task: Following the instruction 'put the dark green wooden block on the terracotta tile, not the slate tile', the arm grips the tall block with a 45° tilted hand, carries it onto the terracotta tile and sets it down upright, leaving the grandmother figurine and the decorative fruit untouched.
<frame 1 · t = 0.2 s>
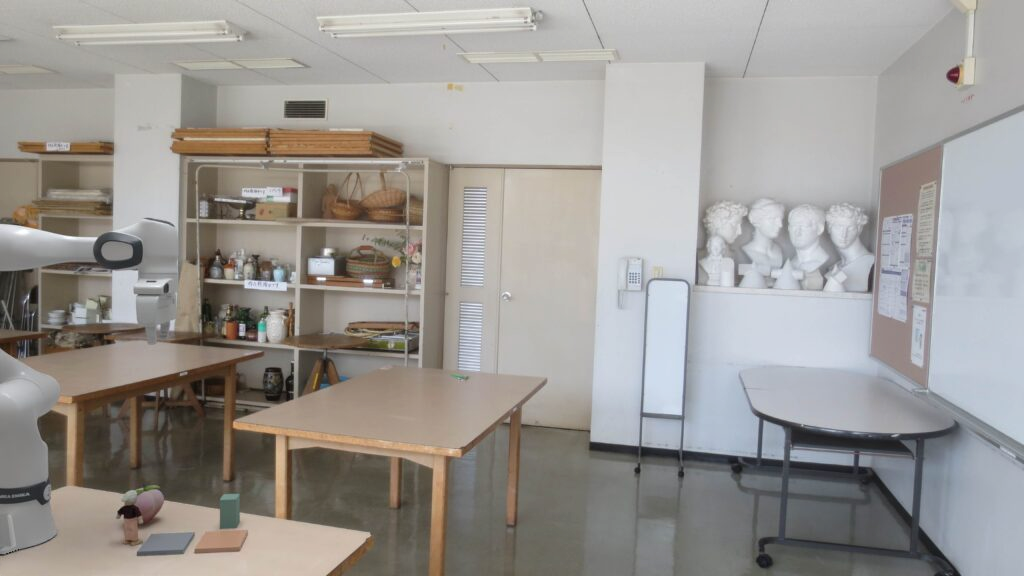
hand: (158, 341, 174), 48 cm above the table, tool pointing down, fingers open, 8 cm apart
decorative fruit: (143, 523, 183), on the table
grandmother figurine: (130, 542, 171), on the table
terracotta tile: (222, 543, 172), on the table
slate tile: (166, 545, 170), on the table
green wooden block: (229, 525, 183), on the table
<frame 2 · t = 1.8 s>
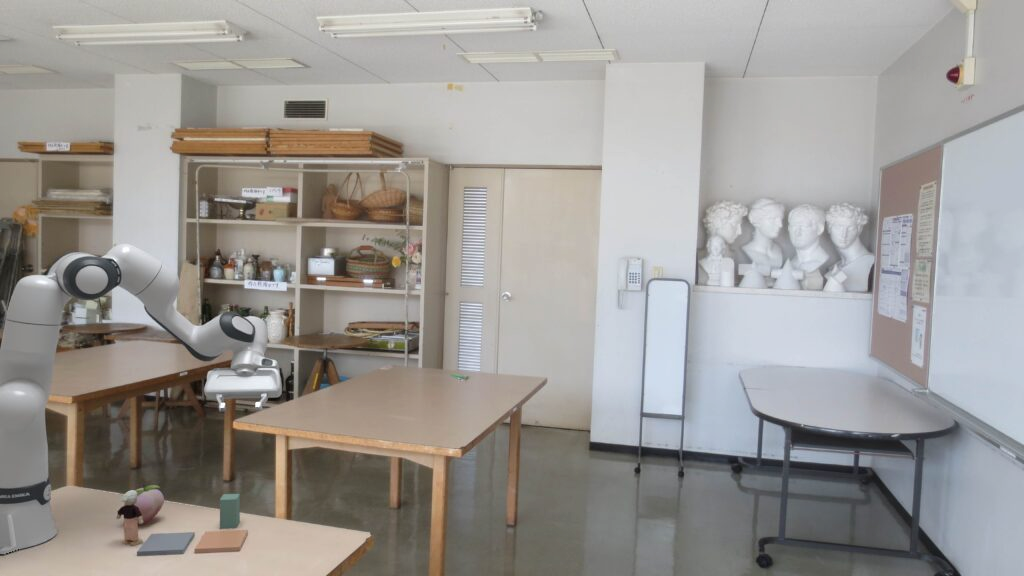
hand: (240, 409, 193), 27 cm above the table, tool tilted 45°, fingers open, 8 cm apart
nothing on the table moved.
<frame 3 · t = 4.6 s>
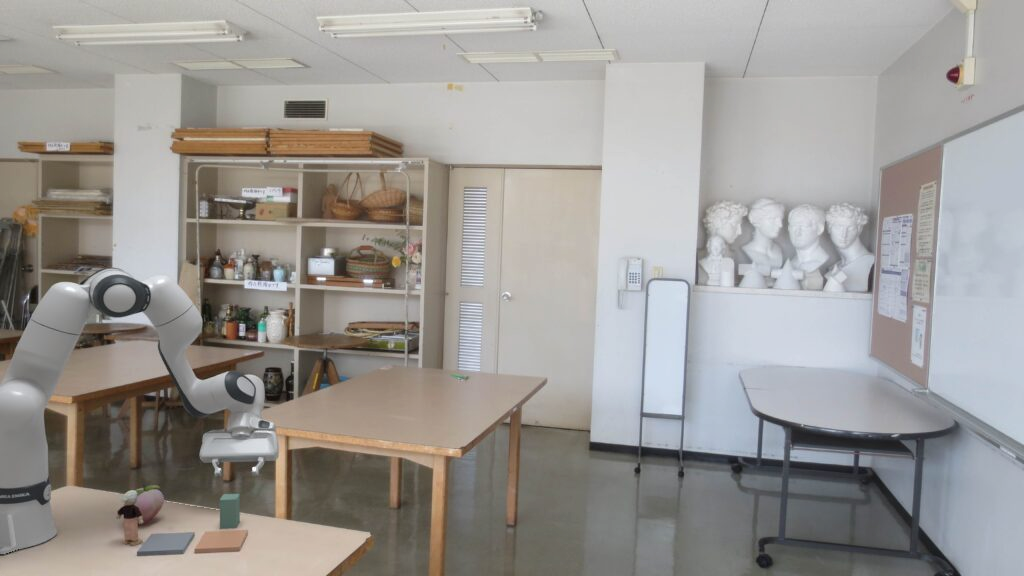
hand: (236, 475, 190), 10 cm above the table, tool tilted 45°, fingers open, 8 cm apart
nothing on the table moved.
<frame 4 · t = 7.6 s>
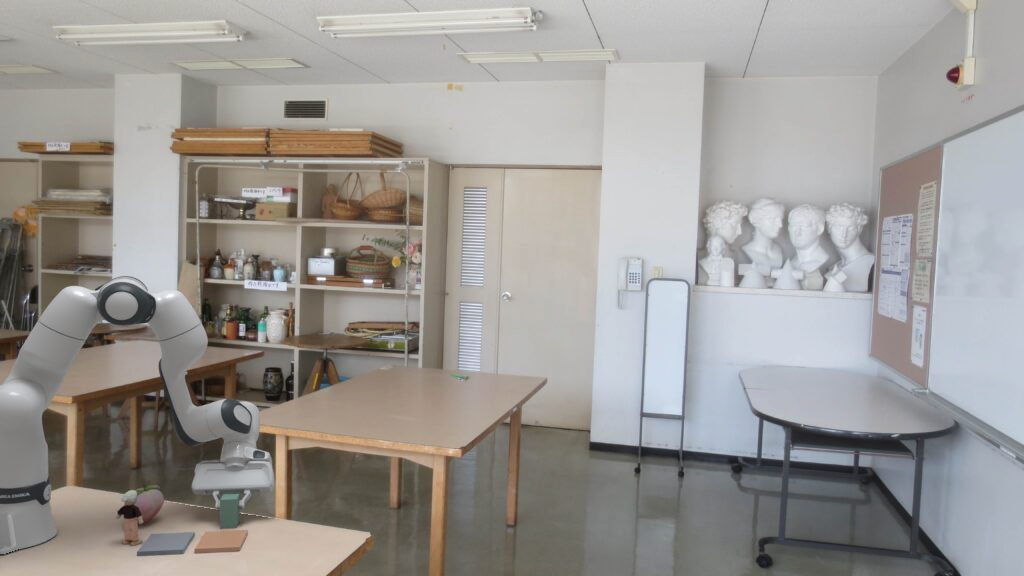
hand: (229, 508, 182), 4 cm above the table, tool tilted 45°, fingers closed on green wooden block, 4 cm apart
green wooden block: (229, 525, 183), on the table, touching gripper
everything else where it was.
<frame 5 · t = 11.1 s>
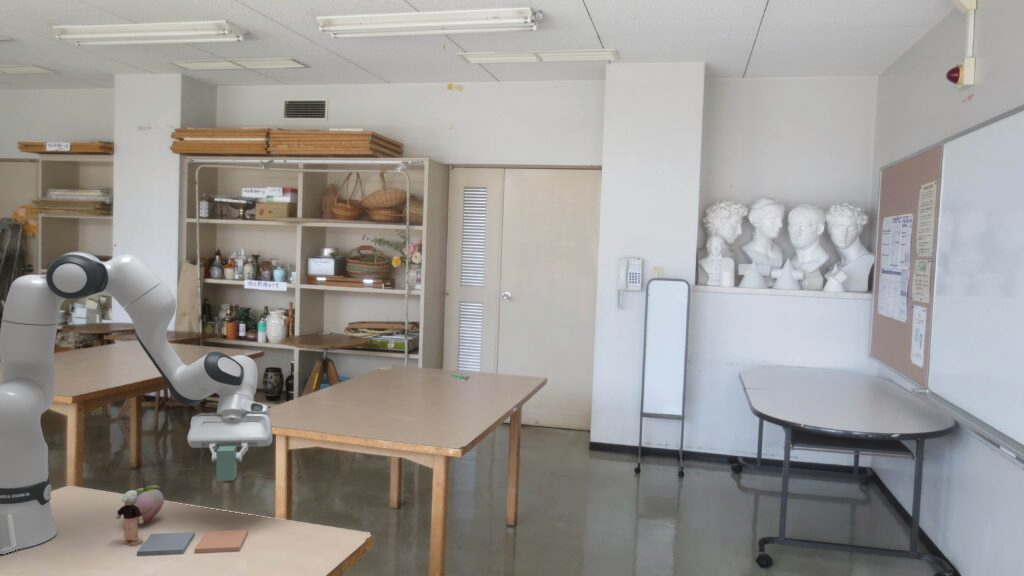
hand: (226, 460, 177), 18 cm above the table, tool tilted 45°, fingers closed on green wooden block, 4 cm apart
green wooden block: (226, 477, 178), point 14 cm above the table, touching gripper
everything else where it was.
when the fingers open (7 cm above the table, at t = 15.0 s): green wooden block drops 1 cm, resting on terracotta tile.
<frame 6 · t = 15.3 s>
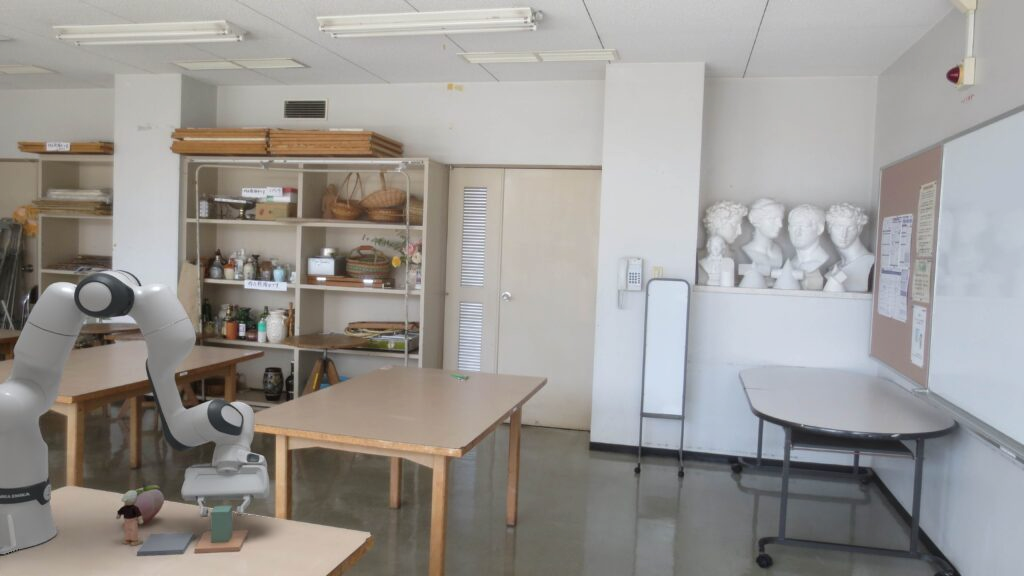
hand: (221, 515, 171), 7 cm above the table, tool tilted 45°, fingers open, 7 cm apart
green wooden block: (221, 538, 172), point 1 cm above the table, touching terracotta tile
everything else where it was.
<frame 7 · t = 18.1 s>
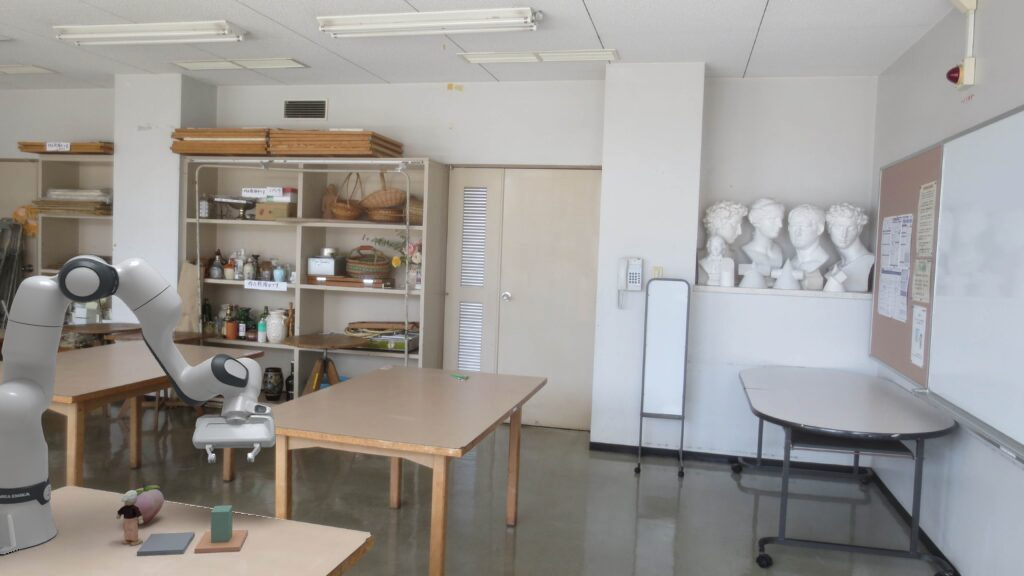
hand: (230, 461, 180), 17 cm above the table, tool tilted 45°, fingers open, 8 cm apart
nothing on the table moved.
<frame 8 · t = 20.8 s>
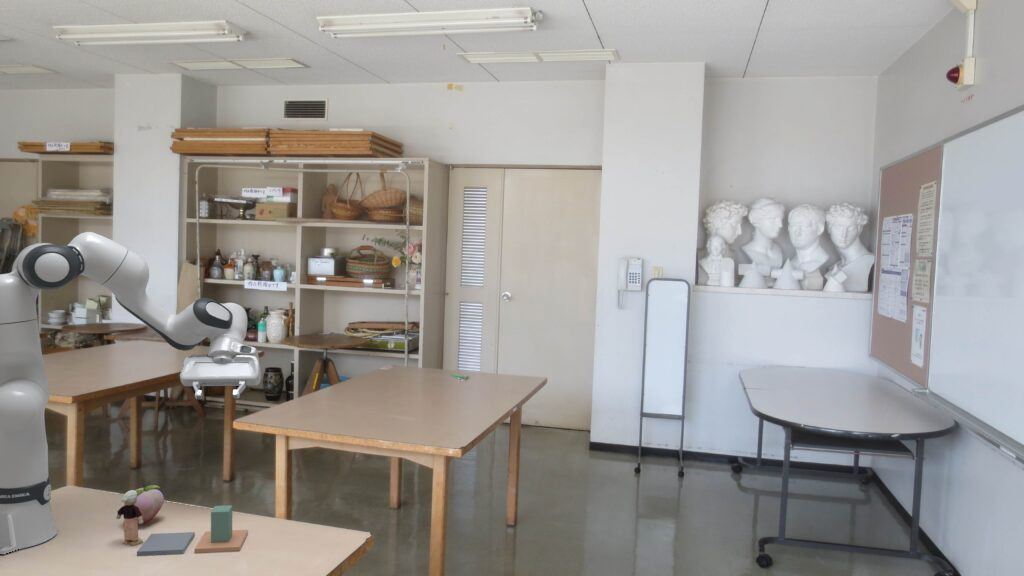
hand: (217, 397, 188), 31 cm above the table, tool tilted 45°, fingers open, 8 cm apart
nothing on the table moved.
at the end: green wooden block inside the target area on the terracotta tile (0.1 cm from its centre), point 1.0 cm above the terracotta tile's base; green wooden block tilted 0°; grandmother figurine moved 0.2 cm from its start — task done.
